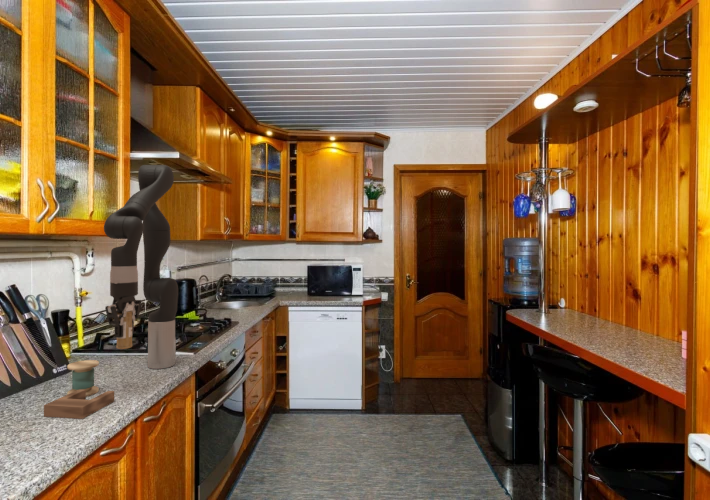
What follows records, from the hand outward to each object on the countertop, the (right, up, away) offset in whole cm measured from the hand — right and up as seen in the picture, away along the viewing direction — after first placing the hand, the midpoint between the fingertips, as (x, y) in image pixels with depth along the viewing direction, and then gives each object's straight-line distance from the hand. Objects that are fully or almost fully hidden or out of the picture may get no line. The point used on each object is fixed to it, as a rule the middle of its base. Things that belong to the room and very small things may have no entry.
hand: (124, 335), depth 126 cm
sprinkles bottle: (0, -4, 0) cm, 4 cm away
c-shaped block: (-4, -17, -14) cm, 23 cm away
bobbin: (-12, -17, -2) cm, 21 cm away
